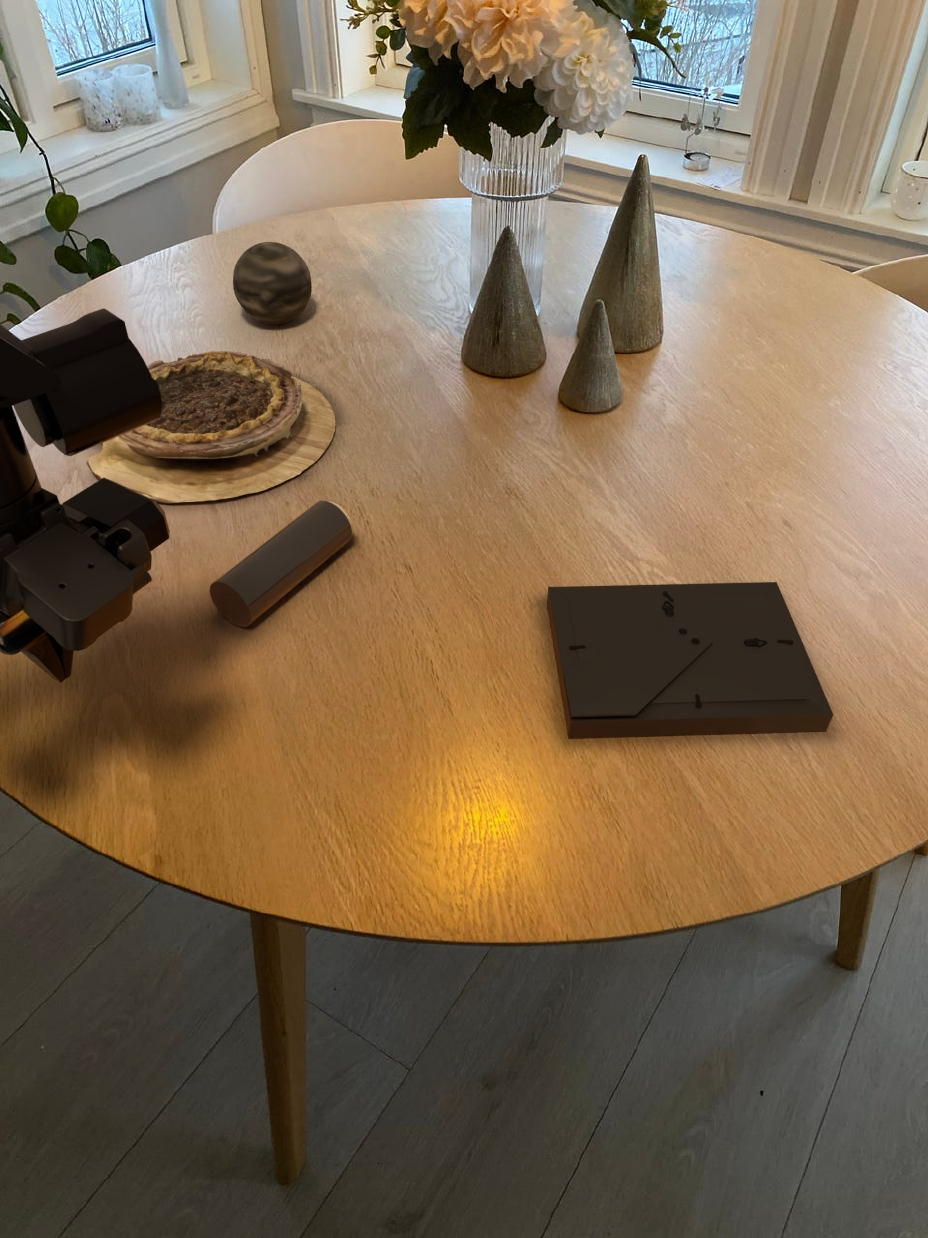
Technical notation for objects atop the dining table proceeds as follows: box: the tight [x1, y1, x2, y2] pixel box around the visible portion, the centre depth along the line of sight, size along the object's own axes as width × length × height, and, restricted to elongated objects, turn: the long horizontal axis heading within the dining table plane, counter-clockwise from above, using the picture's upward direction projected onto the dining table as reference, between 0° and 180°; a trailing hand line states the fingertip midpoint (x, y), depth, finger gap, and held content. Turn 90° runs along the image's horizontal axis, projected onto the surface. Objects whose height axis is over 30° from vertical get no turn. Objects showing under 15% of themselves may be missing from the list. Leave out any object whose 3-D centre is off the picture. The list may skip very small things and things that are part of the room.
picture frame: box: [546, 581, 834, 740], centre depth 81 cm, size 16×3×21 cm
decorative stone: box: [232, 241, 313, 325], centre depth 123 cm, size 10×10×10 cm
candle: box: [209, 500, 354, 628], centre depth 87 cm, size 5×5×15 cm
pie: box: [86, 350, 337, 504], centre depth 105 cm, size 28×27×5 cm
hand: (61, 677), depth 64 cm, fingers closed
